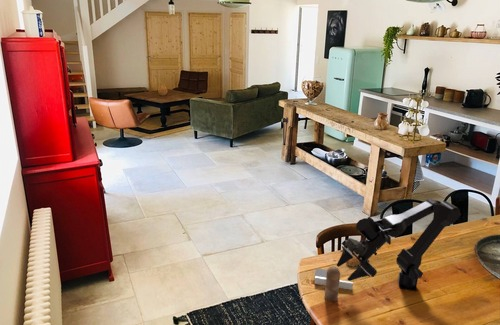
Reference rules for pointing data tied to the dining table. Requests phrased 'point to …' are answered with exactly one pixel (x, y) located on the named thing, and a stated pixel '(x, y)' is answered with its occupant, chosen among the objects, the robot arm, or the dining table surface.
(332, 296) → the skittle
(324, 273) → the resting pad
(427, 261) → the dining table surface
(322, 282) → the silver flat bar
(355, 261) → the pastry
